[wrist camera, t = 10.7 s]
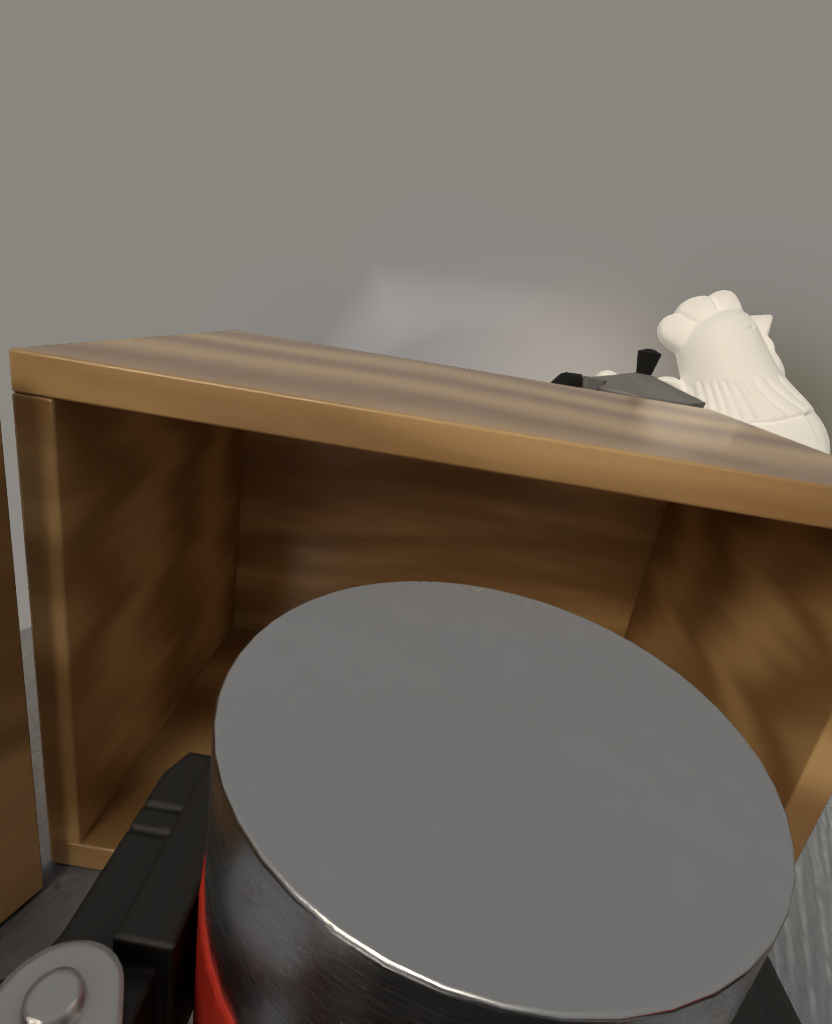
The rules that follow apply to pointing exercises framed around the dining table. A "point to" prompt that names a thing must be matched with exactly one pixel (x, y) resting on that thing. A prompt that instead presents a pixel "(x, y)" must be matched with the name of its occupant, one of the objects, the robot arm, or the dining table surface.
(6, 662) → the cupboard door
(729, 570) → the cupboard
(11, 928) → the dining table surface
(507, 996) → the can
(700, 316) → the decorative rooster
